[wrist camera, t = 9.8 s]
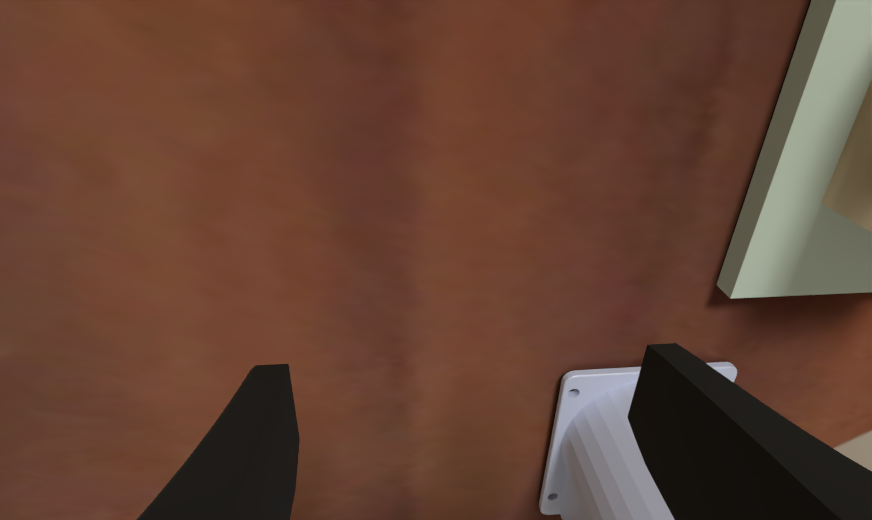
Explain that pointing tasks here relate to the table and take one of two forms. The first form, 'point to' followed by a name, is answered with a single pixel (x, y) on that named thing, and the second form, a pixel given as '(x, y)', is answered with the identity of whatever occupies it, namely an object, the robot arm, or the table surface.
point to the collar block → (855, 171)
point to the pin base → (807, 169)
